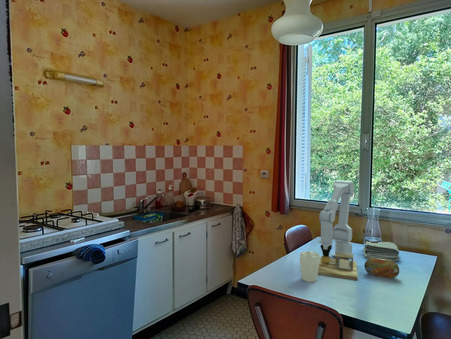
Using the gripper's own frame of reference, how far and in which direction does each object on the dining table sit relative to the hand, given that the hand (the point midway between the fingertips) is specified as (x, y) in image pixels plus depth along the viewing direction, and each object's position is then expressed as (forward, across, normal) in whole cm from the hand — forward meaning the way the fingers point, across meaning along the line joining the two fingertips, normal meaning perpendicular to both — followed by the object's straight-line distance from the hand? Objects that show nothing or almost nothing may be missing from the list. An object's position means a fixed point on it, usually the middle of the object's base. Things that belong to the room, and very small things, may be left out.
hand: (325, 259), depth 161 cm
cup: (+4, +22, -6) cm, 23 cm away
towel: (+4, -29, +29) cm, 41 cm away
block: (+1, +4, +9) cm, 10 cm away
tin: (+4, +4, +26) cm, 26 cm away
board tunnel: (+4, +3, +5) cm, 7 cm away
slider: (+2, +4, +5) cm, 6 cm away
